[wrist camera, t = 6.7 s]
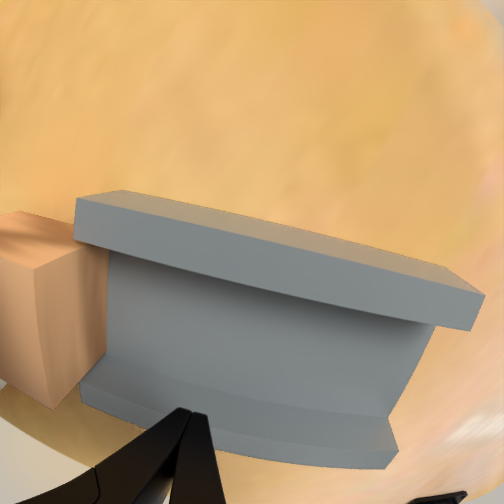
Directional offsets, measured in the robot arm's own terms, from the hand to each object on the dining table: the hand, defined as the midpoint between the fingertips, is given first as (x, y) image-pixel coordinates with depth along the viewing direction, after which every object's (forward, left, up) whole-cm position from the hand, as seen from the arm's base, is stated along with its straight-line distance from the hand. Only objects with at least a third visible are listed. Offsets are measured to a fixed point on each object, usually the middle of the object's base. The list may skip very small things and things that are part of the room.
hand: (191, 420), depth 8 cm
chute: (-2, 0, -6) cm, 7 cm away
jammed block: (+9, 0, -5) cm, 10 cm away
